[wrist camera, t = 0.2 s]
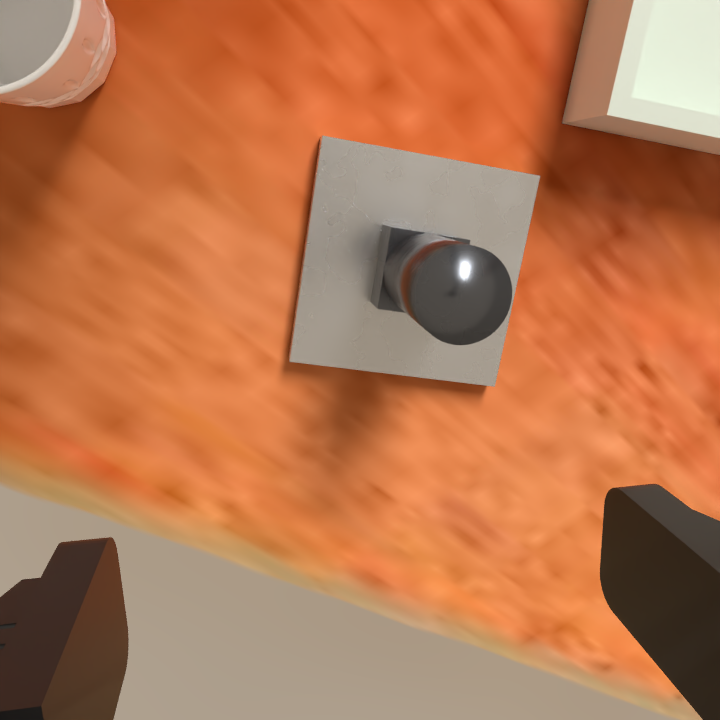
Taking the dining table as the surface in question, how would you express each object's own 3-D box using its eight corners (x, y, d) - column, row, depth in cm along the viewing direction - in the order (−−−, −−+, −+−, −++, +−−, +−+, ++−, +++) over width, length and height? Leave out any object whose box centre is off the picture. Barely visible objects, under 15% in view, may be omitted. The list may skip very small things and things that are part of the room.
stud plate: (320, 136, 36) (326, 132, 33) (532, 176, 38) (556, 175, 35) (288, 357, 39) (291, 371, 36) (488, 381, 41) (507, 397, 38)
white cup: (-11, 135, 34) (-115, 116, 24) (-72, -42, 31) (-213, -140, 22) (149, 102, 34) (110, 71, 25) (101, -74, 32) (37, -182, 23)
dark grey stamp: (383, 224, 37) (425, 238, 28) (458, 236, 37) (521, 253, 29) (370, 301, 38) (406, 338, 29) (443, 312, 38) (500, 350, 29)
